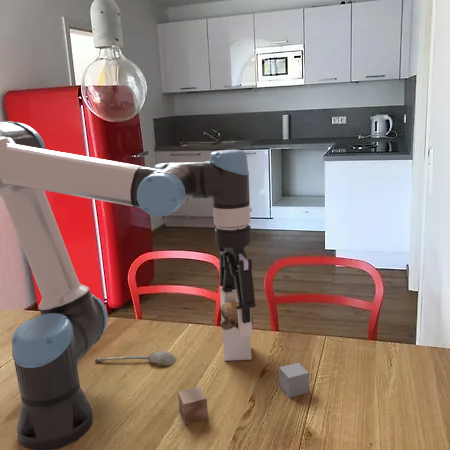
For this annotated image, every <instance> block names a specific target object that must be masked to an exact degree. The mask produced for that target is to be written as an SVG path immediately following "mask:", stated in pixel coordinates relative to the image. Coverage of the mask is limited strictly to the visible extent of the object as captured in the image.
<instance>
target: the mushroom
mask: <svg viewBox="0 0 450 450" xmlns="http://www.w3.org/2000/svg"><path fill="white" fill-rule="evenodd" d="M237 306H239V303H238V302H236V301H229V302H227V303H225V304H223V305H222V308H221V307H220V315H221V314H222V316H223V318H224V320H222V319H221V321H220V323H219V325H220V327H221V328H223V329H224V330H231V329H232V328H234V327H235V328H237V329H239V328H238V310H237V309H236V307H237ZM251 320H252V325H253V323H254V321H253V320H254V319H253V315H252V313H251Z"/></svg>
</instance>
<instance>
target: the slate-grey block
mask: <svg viewBox="0 0 450 450" xmlns="http://www.w3.org/2000/svg"><path fill="white" fill-rule="evenodd" d="M278 374H279V375H278V376H279V387H280V388H281V389H282V391H283V393H285V395H286V396H287V397H288V398H295V397H298V396H301V395H305V394H308V393H310V373H309V371H308V370H307V369H306V368H305V367H304V366H303V365H302V364H301V363H299V362H296V363H295V362H294V363H292V364H288V365H287V364H286V365H283V366H279V367H278Z"/></svg>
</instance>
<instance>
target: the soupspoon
mask: <svg viewBox="0 0 450 450" xmlns="http://www.w3.org/2000/svg"><path fill="white" fill-rule="evenodd" d="M135 359H136V360H140V359H141V360H147V361H148V362H151V363H153V364H157V365H159V366H166V367H169V366H174V365H175V363H176V362H177V357H176V356H175V355H174V354H173V353H171V352H169V351H166V350H156V351H154V352H151V353H150V354H149V355H133V356H132V355H131V356H129V355H128V356H119V357H117V356H116V357H95V358H94V363H95V364H98V363H100V362H104V361H113V360H114V361H115V360H116V361H117V360H135Z"/></svg>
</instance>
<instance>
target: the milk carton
mask: <svg viewBox="0 0 450 450" xmlns="http://www.w3.org/2000/svg"><path fill="white" fill-rule="evenodd" d="M222 287H223V286H220V287H219V289H220V290H219V291H220V292H219V293H220V309H221V308H222V305H223V304H224V293H225V292H223V290H222ZM232 291H236V290H232ZM236 298H237V302H238V297H237V292H236ZM238 303H239V302H238ZM220 315H221V321H222V320H224V318H223V316H222V314H221V313H220ZM221 328H222V327H221ZM221 330H222V331H221V332H222V344H223V345H222V346H223V360H224V361H228V362H229V361H249V360H250V361H251V360H252V359H253V358H252V340H251V339H252V338H251V336H252V335H249V336H244V337H240V336H239V329H237V328H235V327H234V328H232V329H231V330H224V329H223V328H222V329H221Z"/></svg>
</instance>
